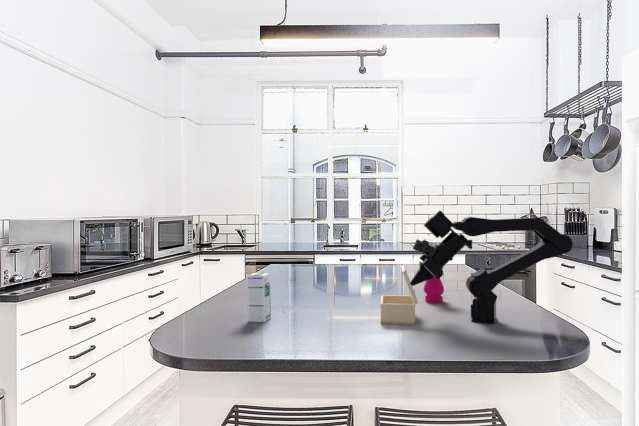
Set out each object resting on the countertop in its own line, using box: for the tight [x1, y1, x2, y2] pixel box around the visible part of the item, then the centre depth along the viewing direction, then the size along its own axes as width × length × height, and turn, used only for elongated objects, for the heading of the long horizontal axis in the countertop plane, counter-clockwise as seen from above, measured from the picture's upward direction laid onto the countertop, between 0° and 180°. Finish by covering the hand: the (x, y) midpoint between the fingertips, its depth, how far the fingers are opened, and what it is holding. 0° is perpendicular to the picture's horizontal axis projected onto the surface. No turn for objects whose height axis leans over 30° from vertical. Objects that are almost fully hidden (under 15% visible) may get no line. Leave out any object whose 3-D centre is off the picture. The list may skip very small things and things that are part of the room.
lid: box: [401, 265, 418, 305], centre depth 143 cm, size 10×14×1 cm
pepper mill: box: [423, 277, 445, 304], centre depth 169 cm, size 7×7×20 cm
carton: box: [380, 294, 416, 326], centre depth 143 cm, size 10×14×6 cm
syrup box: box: [246, 272, 272, 323], centre depth 145 cm, size 6×6×14 cm
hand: (411, 284), depth 143 cm, fingers closed, pressing on lid
